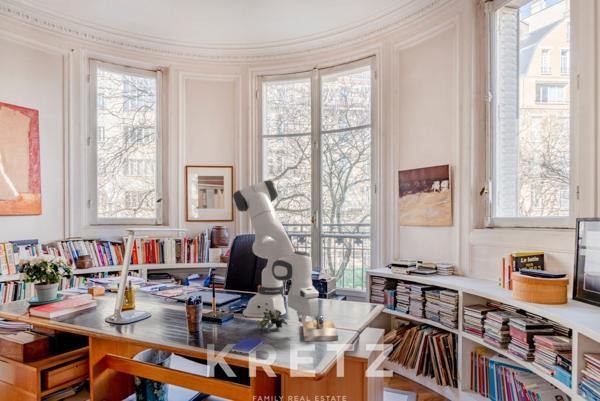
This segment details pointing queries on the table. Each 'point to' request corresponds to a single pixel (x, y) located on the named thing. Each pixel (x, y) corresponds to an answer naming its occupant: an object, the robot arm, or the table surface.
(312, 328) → the door board
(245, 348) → the hard drive
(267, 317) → the green leafy plant
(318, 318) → the lock bar
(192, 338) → the table surface
